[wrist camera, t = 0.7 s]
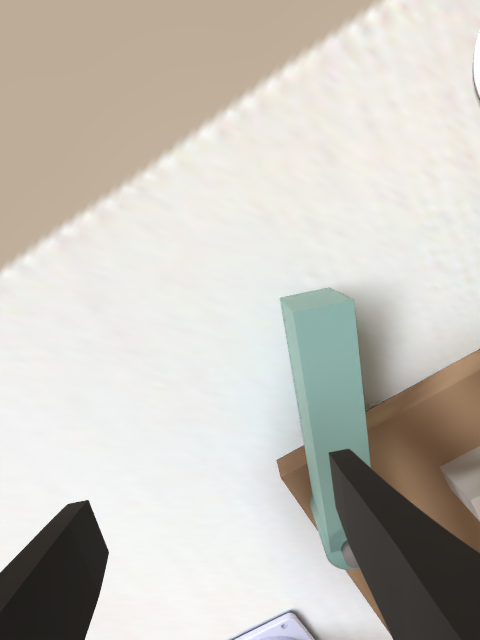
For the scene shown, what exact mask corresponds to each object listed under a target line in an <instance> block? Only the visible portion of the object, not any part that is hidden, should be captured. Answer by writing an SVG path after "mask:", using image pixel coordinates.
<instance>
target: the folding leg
mask: <svg viewBox="0 0 480 640" xmlns="http://www.w3.org/2000/svg"><path fill="white" fill-rule="evenodd" d="M280 302H281V308H282V314H283V320H284V326H285V332H286V338H287V344H288V350H289V356H290V362H291V368H292V374H293V380H294V386H295V392H296V398H297V404H298V410H299V416H300V422H301V428H302V434H303V440H304V446H305V452H306V458H307V464H308V470H309V476H310V482H311V488H312V495H311V498H310V507H311V510H312V513H313V516H314V519H315V522H316V525H317V528H318V531H319V534H320V537H321V541H322V544H323V547H324V550H325V553H326V556H327V558H328V560H329V562H330V563H331V564H333V565H334V566H335V567H337V568H340V569H344V570H356V569H360V568H359V565H358V563H357V561H356V559H355V557H354V555H353V552H352V550H351V548H350V546H349V543H348V541H347V538H346V535H345V532H344V530H343V527H342V524H341V521H340V518H339V516H338V513H337V510H336V507H335V499H334V491H333V484H332V476H331V468H330V460H329V452H334V451H339V450H344V449H350V450H352V451H353V452H354V453H355V454H356V455H357V456H358V457H359V458H361V459H362V460H363V461H364V462H365V463H366V464H367V465H368V466H369V467H370V468H371V465H370V455H369V445H368V435H367V425H366V415H365V405H364V396H363V386H362V376H361V366H360V356H359V346H358V336H357V326H356V317H355V307H354V299H352V298H350V297H348V296H345V295H343V294H341V293H339V292H337V291H335V290H333V289H331V288H325V289H320V290H315V291H310V292H306V293H301V294H296V295H291V296H286V297H281V298H280Z"/></svg>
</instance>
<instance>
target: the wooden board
mask: <svg viewBox="0 0 480 640" xmlns="http://www.w3.org/2000/svg"><path fill="white" fill-rule="evenodd" d="M365 415H366V425H367V435H368V445H369V455H370V465H371V469H373V470H374V471H375V472H376V473H377V474H378V475H379V476H380V477H382V478H383V479H384V480H385V481H386V482H387V483H388V484H390V485H391V486H392V487H393V488H394V489H396V490H397V491H398V492H399V493H400V494H402V495H403V496H404V497H405V498H407V499H408V500H409V501H410V502H411V503H413V504H414V505H415V506H416V507H418V508H419V509H420V510H421V511H423V512H424V513H425V514H427V515H428V516H429V517H430V518H432V519H433V520H434V521H436V522H437V523H438V524H440V525H441V526H442V527H444V528H445V529H446V530H448V531H449V532H450V533H452V534H453V535H455V536H456V537H457V538H459V539H460V540H462V541H463V542H464V543H466V544H467V545H469V546H470V547H472V548H473V549H474V550H476V551H477V552H479V553H480V349H479V350H477V351H476V352H474V353H472V354H470V355H468V356H466V357H465V358H463V359H461V360H459V361H457V362H456V363H454V364H452V365H450V366H448V367H446V368H445V369H443V370H441V371H439V372H437V373H435V374H434V375H432V376H430V377H428V378H426V379H424V380H423V381H421V382H419V383H417V384H415V385H414V386H412V387H410V388H408V389H406V390H404V391H403V392H401V393H399V394H397V395H395V396H393V397H392V398H390V399H388V400H386V401H384V402H382V403H381V404H379V405H377V406H375V407H373V408H372V409H370V410H368V411H366V412H365ZM277 464H278V468H279V472H280V476H281V479H282V480H283V481H284V483H285V484H286V486H287V487H288V489H289V490H290V491H291V493H292V494H293V496H294V497H295V499H296V500H297V501H298V503H299V504H300V506H301V507H302V509H303V510H304V511H305V513H306V514H307V516H308V517H309V519H310V520H311V521H312V523H313V524H314V526H315V527H316V529H317V530H318V528H317V525H316V522H315V519H314V516H313V513H312V510H311V507H310V498H311V495H312V488H311V482H310V476H309V470H308V464H307V458H306V452H305V446H302V447H300V448H298V449H297V450H295V451H293V452H291V453H289V454H287V455H286V456H284V457H282V458H280V459H278V460H277ZM346 572H347V573H348V574H349V576H350V577H351V579H352V580H353V582H354V583H355V584H356V586H357V587H358V589H359V590H360V592H361V593H362V594H363V596H364V597H365V599H366V600H367V602H368V603H369V604H370V606H371V607H372V609H373V610H374V612H375V613H376V614H377V616H378V617H379V619H380V620H381V622H382V623H383V624H384V626H385V627H386V629H387V630H388V632H389V633H390V631H389V629H388V627H387V625H386V623H385V621H384V619H383V616H382V614H381V612H380V610H379V608H378V606H377V604H376V602H375V599H374V597H373V595H372V593H371V591H370V589H369V587H368V585H367V582H366V580H365V578H364V576H363V574H362V572H361V570H360V569H356V570H346ZM390 634H391V633H390Z"/></svg>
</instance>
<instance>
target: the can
mask: <svg viewBox="0 0 480 640" xmlns="http://www.w3.org/2000/svg"><path fill="white" fill-rule="evenodd" d="M473 77H474V83H475V88H476V91H477V94H478V96H479V98H480V31H479V34H478V38H477V42H476V47H475V52H474V59H473Z"/></svg>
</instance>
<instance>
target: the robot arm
mask: <svg viewBox="0 0 480 640" xmlns="http://www.w3.org/2000/svg"><path fill="white" fill-rule="evenodd" d="M329 460H330V468H331V476H332V484H333V491H334V499H335V507H336V510H337V513H338V516H339V518H340V521H341V524H342V527H343V530H344V532H345V535H346V538H347V541H348V543H349V546H350V548H351V550H352V552H353V555H354V557H355V559H356V561H357V563H358V565H359V568H360V570H361V572H362V574H363V576H364V578H365V580H366V582H367V585H368V587H369V589H370V591H371V593H372V595H373V597H374V599H375V602H376V604H377V606H378V608H379V610H380V612H381V614H382V616H383V619H384V621H385V623H386V625H387V627H388V629H389V631H390V633H391V636H392V638H393V640H480V553H479V552H477V551H476V550H474V549H473V548H472V547H470V546H469V545H467V544H466V543H464V542H463V541H462V540H460V539H459V538H457V537H456V536H455V535H453V534H452V533H450V532H449V531H448V530H446V529H445V528H444V527H442V526H441V525H440V524H438V523H437V522H436V521H434V520H433V519H432V518H430V517H429V516H428V515H427V514H425V513H424V512H423V511H421V510H420V509H419V508H418V507H416V506H415V505H414V504H413V503H411V502H410V501H409V500H408V499H407V498H405V497H404V496H403V495H402V494H400V493H399V492H398V491H397V490H396V489H394V488H393V487H392V486H391V485H390V484H388V483H387V482H386V481H385V480H384V479H383V478H382V477H380V476H379V475H378V474H377V473H376V472H375V471H374V470H373V469H371V468H370V467H369V466H368V465H367V464H366V463H365V462H364V461H363V460H362V459H361V458H359V457H358V456H357V455H356V454H355V453H354V452H353V451H352V450H350V449H344V450H339V451H334V452H329ZM108 554H109V551H108V549H107V546H106V544H105V541H104V539H103V536H102V534H101V531H100V528H99V526H98V523H97V521H96V518H95V516H94V513H93V511H92V508H91V506H90V503H89V501H88V500H86V501H81V502H76V503H71V504H68V505H66V506H65V507H64V508H63V509H62V510H61V511H60V512H59V513H58V514H57V515H56V516H55V517H54V518H53V519H52V520H51V521H50V522H49V523H48V524H47V525H46V526H45V527H44V528H43V529H42V530H41V531H40V532H39V533H38V534H37V535H36V537H35V538H34V539H33V540H32V541H31V542H30V543H29V544H28V545H27V546H26V547H25V548H24V549H23V550H22V551H21V552H20V553H19V554H18V555H17V556H16V557H15V558H14V559H13V560H12V561H11V562H10V563H9V564H8V565H7V566H6V567H5V568H4V569H3V570H2V572H1V573H0V640H85V637H86V634H87V631H88V628H89V625H90V622H91V619H92V616H93V613H94V610H95V607H96V604H97V601H98V598H99V594H100V590H101V586H102V582H103V578H104V573H105V569H106V564H107V559H108ZM234 640H315V639H314V638H313V636H312V635H311V634H310V633H309V631H308V630H307V629H306V628H305V627H304V625H303V624H302V623H301V622H300V620H299V619H298V618H297V617H296V615H294V614H293V613H287V614H285V615H283V616H281V617H279V618H276V619H274V620H272V621H270V622H268V623H266V624H264V625H262V626H260V627H258V628H256V629H254V630H252V631H250V632H248V633H246V634H244V635H242V636H240V637H238V638H236V639H234Z"/></svg>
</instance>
